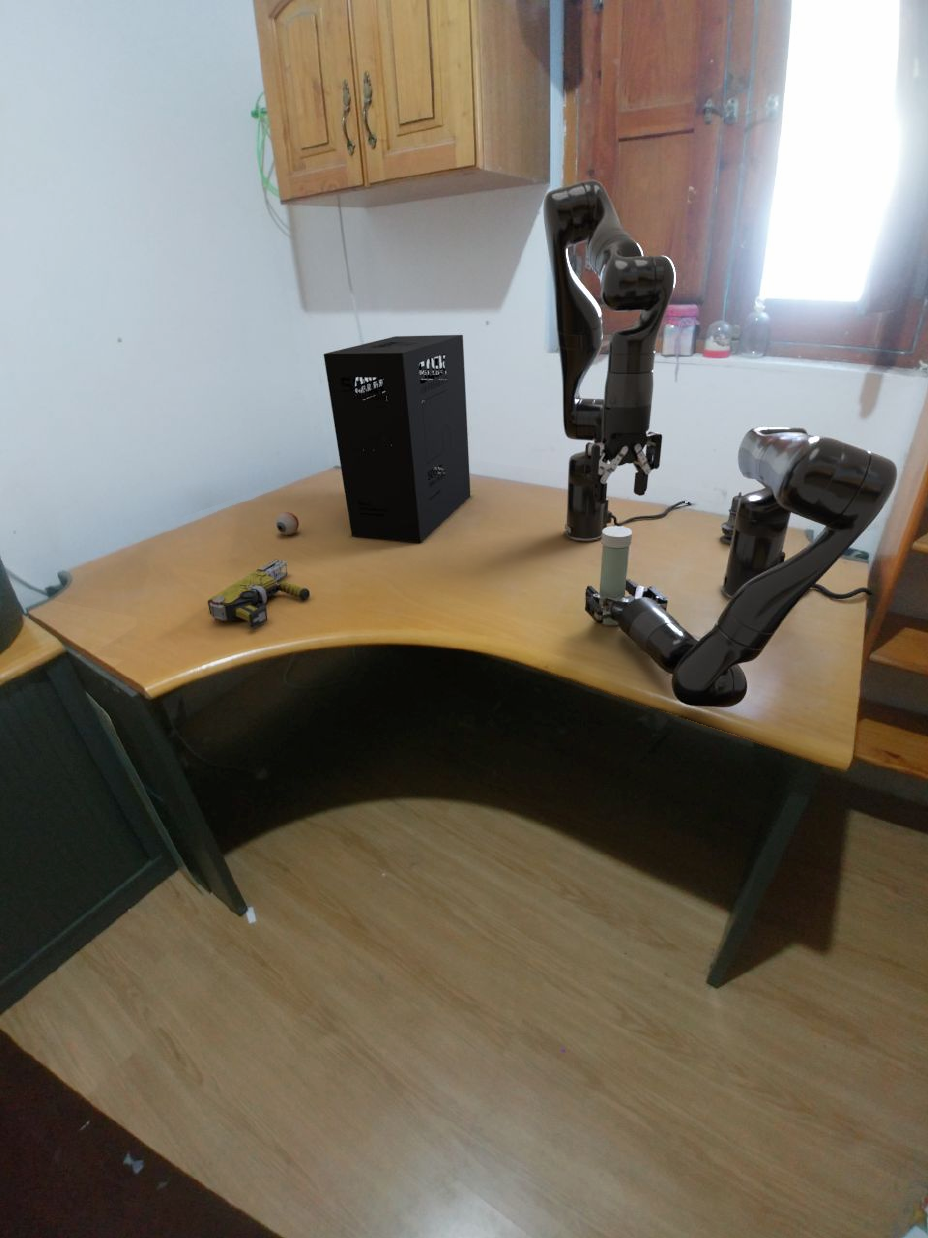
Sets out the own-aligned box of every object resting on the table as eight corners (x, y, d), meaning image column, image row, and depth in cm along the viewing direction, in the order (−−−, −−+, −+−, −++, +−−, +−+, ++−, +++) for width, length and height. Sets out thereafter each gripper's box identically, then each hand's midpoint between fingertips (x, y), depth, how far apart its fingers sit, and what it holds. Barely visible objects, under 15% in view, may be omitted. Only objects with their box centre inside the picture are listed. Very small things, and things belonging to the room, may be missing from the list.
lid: (613, 550, 106) (614, 539, 105) (595, 540, 110) (596, 529, 109) (637, 544, 108) (638, 532, 107) (618, 534, 112) (619, 523, 111)
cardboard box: (410, 491, 192) (395, 336, 169) (470, 495, 185) (462, 334, 162) (351, 535, 161) (323, 353, 139) (420, 542, 155) (402, 352, 132)
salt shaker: (746, 544, 143) (756, 496, 137) (720, 544, 145) (729, 495, 139) (742, 535, 148) (751, 488, 142) (716, 534, 150) (724, 487, 144)
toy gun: (329, 568, 137) (273, 556, 141) (266, 615, 117) (202, 599, 121) (331, 586, 139) (275, 574, 143) (268, 635, 119) (205, 620, 123)
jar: (607, 627, 115) (614, 540, 106) (592, 617, 118) (598, 532, 109) (627, 621, 116) (636, 535, 107) (612, 611, 120) (619, 526, 111)
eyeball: (273, 537, 164) (268, 516, 161) (287, 528, 169) (282, 508, 166) (291, 539, 161) (286, 518, 158) (305, 530, 166) (301, 510, 163)
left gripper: (648, 392, 102) (639, 486, 110) (576, 402, 98) (573, 500, 106) (679, 398, 96) (667, 497, 104) (604, 410, 92) (598, 512, 100)
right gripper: (691, 601, 102) (642, 563, 115) (614, 616, 99) (573, 574, 113) (685, 639, 105) (639, 597, 119) (610, 654, 103) (571, 609, 116)
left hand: (619, 498), depth 105 cm, fingers open, 7 cm apart
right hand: (607, 586), depth 116 cm, fingers open, 7 cm apart
